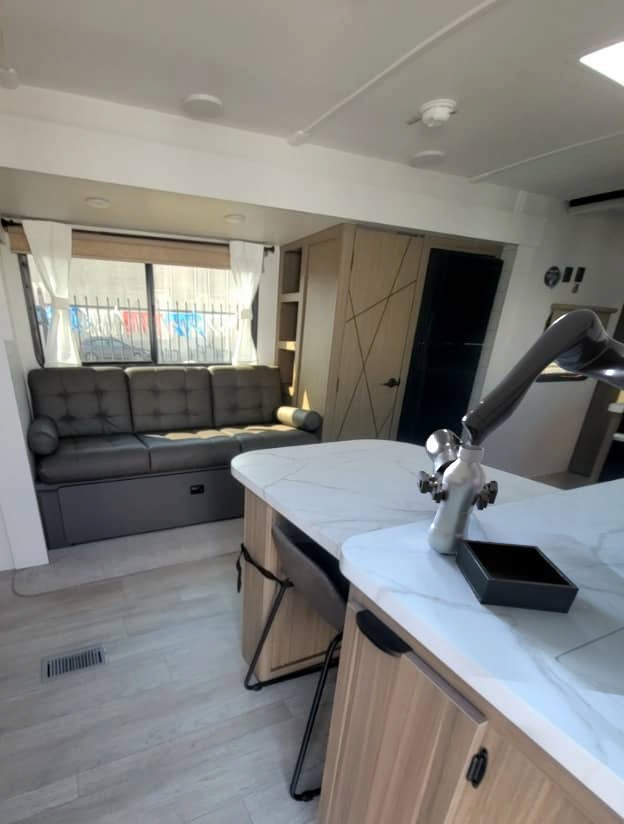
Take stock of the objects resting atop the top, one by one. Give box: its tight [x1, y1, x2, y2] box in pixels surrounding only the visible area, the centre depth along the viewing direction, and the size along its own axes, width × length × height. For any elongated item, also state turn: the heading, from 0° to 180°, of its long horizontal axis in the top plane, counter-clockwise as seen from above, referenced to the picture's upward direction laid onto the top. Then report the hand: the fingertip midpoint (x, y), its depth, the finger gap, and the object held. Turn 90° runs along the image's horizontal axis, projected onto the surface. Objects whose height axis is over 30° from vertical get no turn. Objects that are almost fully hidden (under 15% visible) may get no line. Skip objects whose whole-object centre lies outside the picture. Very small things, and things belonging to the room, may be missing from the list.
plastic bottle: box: [426, 445, 487, 555], centre depth 72 cm, size 6×7×20 cm
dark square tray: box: [454, 539, 580, 614], centre depth 66 cm, size 12×12×4 cm
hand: (460, 501), depth 70 cm, fingers closed on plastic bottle, 6 cm apart
